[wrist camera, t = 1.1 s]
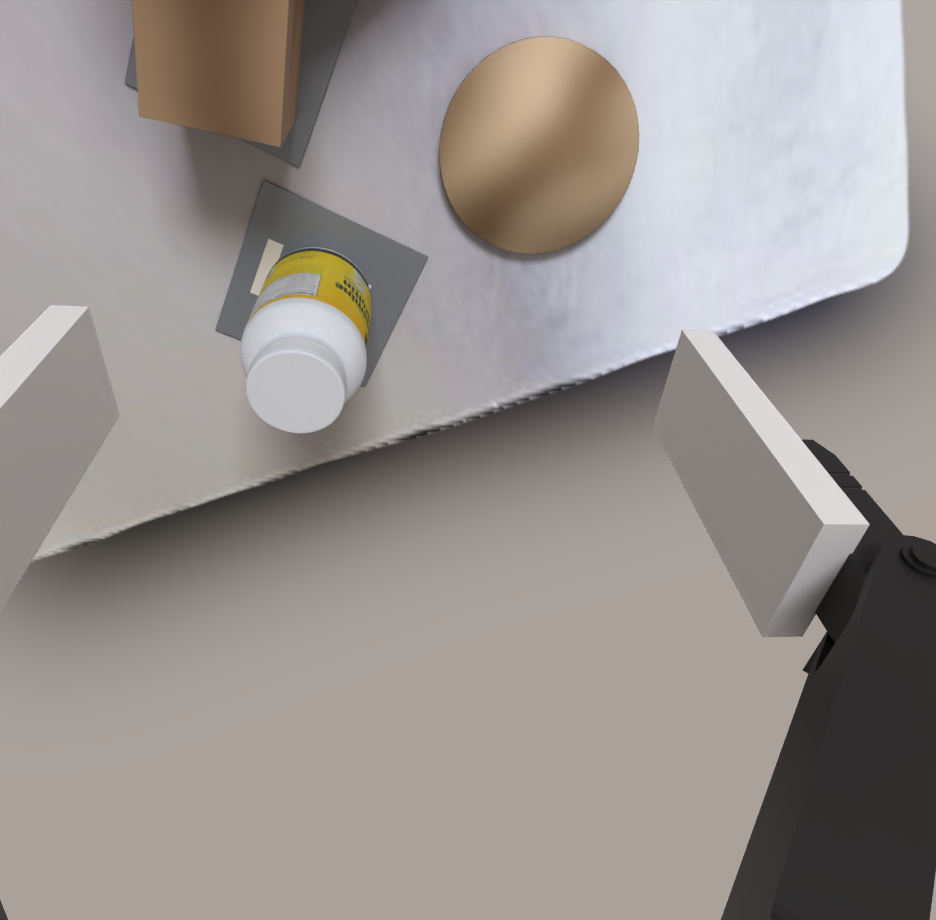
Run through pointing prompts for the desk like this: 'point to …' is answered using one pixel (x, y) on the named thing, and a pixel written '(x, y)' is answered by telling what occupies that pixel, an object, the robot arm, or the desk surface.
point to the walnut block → (220, 65)
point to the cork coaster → (539, 145)
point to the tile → (303, 70)
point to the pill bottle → (307, 340)
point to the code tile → (308, 225)
